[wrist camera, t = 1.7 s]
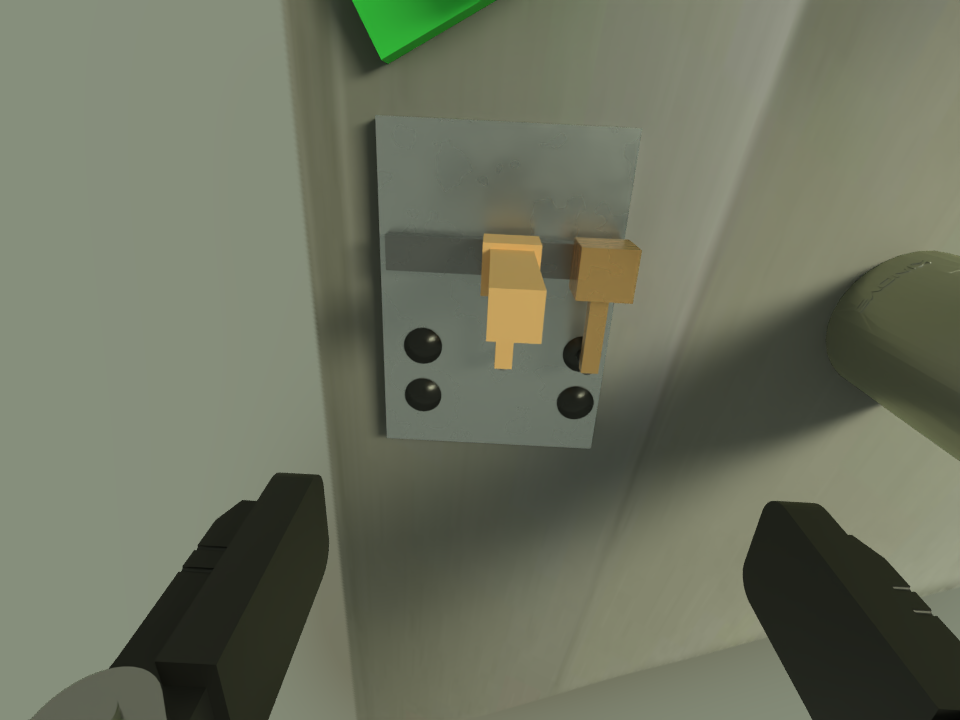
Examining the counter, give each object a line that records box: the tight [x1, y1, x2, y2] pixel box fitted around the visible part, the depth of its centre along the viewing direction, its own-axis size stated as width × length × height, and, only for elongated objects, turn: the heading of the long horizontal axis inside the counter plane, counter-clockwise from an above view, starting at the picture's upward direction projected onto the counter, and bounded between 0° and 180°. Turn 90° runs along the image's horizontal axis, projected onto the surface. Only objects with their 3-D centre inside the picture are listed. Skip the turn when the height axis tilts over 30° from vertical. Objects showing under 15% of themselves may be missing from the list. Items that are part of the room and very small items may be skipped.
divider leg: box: [480, 234, 547, 371], centre depth 26 cm, size 3×8×10 cm, turn 177°
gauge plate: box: [375, 115, 642, 449], centre depth 30 cm, size 14×20×5 cm
